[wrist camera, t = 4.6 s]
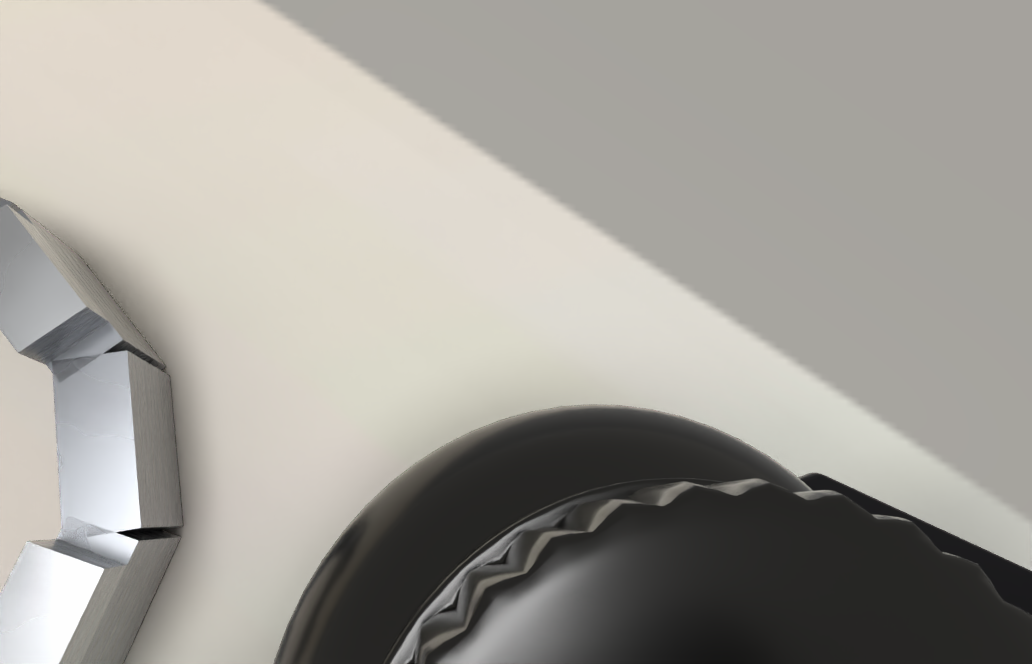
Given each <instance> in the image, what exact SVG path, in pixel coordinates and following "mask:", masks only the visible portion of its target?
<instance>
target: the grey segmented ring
mask: <svg viewBox="0 0 1032 664" xmlns="http://www.w3.org/2000/svg"><path fill="white" fill-rule="evenodd" d="M0 330H1V331H2V333H3V334H4V335H5V336H6V338H7V339H8V340H9V342H10V343H11V344H12V346H13V347H14V348H15V350H16V351H17V352H18V353H20V354H22V355H24V356H27V357H29V358H32V359H34V360H36V361H39V362H41V363H43V364H46V365H47V366H48V368H49V369H50V370H51V372H52V373H53V386H54V403H55V421H56V438H57V456H58V473H59V491H60V508H61V525H62V528H61V530H60V532H59V534H58V536H57V538H56V539H54V540H38V541H27V542H26V544H25V546H24V548H23V550H22V552H21V554H20V556H19V558H18V560H17V562H16V564H15V566H14V568H13V570H12V571H11V573H10V575H9V577H8V579H7V581H6V583H5V585H4V587H3V589H2V591H1V593H0V664H123V663H124V660H125V658H126V656H127V654H128V652H129V650H130V647H131V645H132V643H133V641H134V639H135V637H136V634H137V632H138V630H139V628H140V626H141V623H142V621H143V619H144V617H145V615H146V613H147V610H148V608H149V606H150V604H151V602H152V599H153V597H154V595H155V593H156V591H157V589H158V586H159V584H160V582H161V580H162V578H163V575H164V573H165V571H166V569H167V567H168V565H169V562H170V560H171V558H172V556H173V554H174V552H175V549H176V547H177V545H178V543H179V541H180V538H181V537H180V536H177V535H174V534H171V533H169V532H166V531H163V529H169V528H175V527H180V526H183V519H182V508H181V496H180V485H179V474H178V463H177V451H176V440H175V429H174V417H173V406H172V395H171V384H170V376H169V375H168V374H166V373H164V372H163V371H161V370H162V369H163V368H165V367H166V366H165V364H164V363H163V362H162V361H161V359H160V358H159V357H158V356H157V354H156V353H155V352H154V350H153V349H152V348H151V347H150V345H149V344H148V343H147V341H146V340H145V339H144V338H143V336H142V335H141V334H140V333H139V331H138V330H137V329H136V327H135V326H134V325H133V324H132V322H131V321H130V320H129V318H128V317H127V316H126V315H125V313H124V312H123V311H122V310H121V308H120V307H119V306H118V304H117V303H116V302H115V301H114V299H113V298H112V297H111V295H110V294H109V293H108V292H107V290H106V289H105V288H104V287H103V285H102V284H101V283H100V281H99V280H98V279H97V278H96V276H95V275H94V274H93V272H92V271H91V270H90V269H89V267H88V266H87V265H86V264H85V262H84V261H83V260H82V258H81V257H80V256H79V255H78V254H77V253H76V252H74V251H73V250H72V249H71V248H69V247H68V246H67V245H66V244H64V243H63V242H62V241H61V240H59V239H58V238H57V237H56V236H54V235H53V234H52V233H51V232H49V231H48V230H47V229H46V228H44V227H43V226H42V225H41V224H39V223H38V222H37V221H36V220H34V219H33V218H32V217H31V216H29V215H28V214H27V213H26V212H24V211H23V210H22V209H20V208H19V207H17V206H16V205H15V204H14V203H12V202H10V201H7V200H5V199H2V198H0Z"/></svg>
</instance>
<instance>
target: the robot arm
mask: <svg viewBox="0 0 1032 664" xmlns="http://www.w3.org/2000/svg"><path fill="white" fill-rule="evenodd" d="M798 478H799V479H800V480H802V481H803V482H804V483H805V484H806V485H807V486H809V487H810V488H811V489H812V490H813V491H818V490H831V491H835V492H838V493H840V494H843V495H844V496H846V497H847V498H849V499H851V500H852V501H854V502H855V503H857V504H859V505H860V506H861V507H863V508H864V509H865V510H866V511H868V512H869V513H870V514H872V515H885V516H893V517H900V518H904V519H907V520H909V521H912V522H913V523H914V524H916V525H917V526H918V527H919V528H920V529H921V530H922V531H923V532H924V533H925V534H926V535H927V536H928V537H929V538H930V540H931V541H932V542H933V544H934V545H935V546H936V547H937V548H938V549H939V550H940V551H941V552H944V553H949V554H952V555H956V556H959V557H961V558H964V559H966V560H969V561H972V562H974V563H977V564H978V565H979V566H980V567H981V568H982V570H983V571H984V572H985V574H986V575H987V576H988V577H989V579H990V580H991V581H992V583H993V585H994V587H995V589H996V591H997V592H998V593H999V595H1000V596H1001V597H1002V599H1003V600H1004V601H1006V602H1008V603H1010V604H1012V605H1014V606H1016V607H1019V608H1021V609H1022V610H1024V611H1026V612H1027V613H1029V614H1031V615H1032V571H1030V570H1028V569H1026V568H1024V567H1022V566H1019V565H1017V564H1015V563H1013V562H1011V561H1009V560H1006V559H1004V558H1002V557H1000V556H998V555H996V554H993V553H991V552H989V551H987V550H985V549H983V548H981V547H978V546H976V545H974V544H972V543H970V542H968V541H965V540H963V539H961V538H959V537H957V536H955V535H952V534H950V533H948V532H946V531H944V530H942V529H939V528H937V527H935V526H933V525H931V524H929V523H926V522H924V521H922V520H920V519H918V518H916V517H913V516H911V515H909V514H907V513H905V512H903V511H900V510H898V509H896V508H894V507H892V506H890V505H888V504H885V503H883V502H881V501H879V500H877V499H875V498H872V497H870V496H868V495H866V494H864V493H862V492H859V491H857V490H855V489H853V488H851V487H849V486H846V485H844V484H842V483H840V482H838V481H836V480H833V479H831V478H829V477H827V476H825V475H822V474H819V473H809V474H806V475H804V476H801V477H798Z"/></svg>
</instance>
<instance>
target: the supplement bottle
mask: <svg viewBox="0 0 1032 664" xmlns="http://www.w3.org/2000/svg"><path fill="white" fill-rule="evenodd" d="M274 664H1032V615H1031V614H1029V613H1027V612H1026V611H1024V610H1022V609H1021V608H1019V607H1016V606H1014V605H1012V604H1010V603H1008V602H1006V601H1004V600H1003V599H1002V597H1001V596H1000V595H999V593H998V592H997V591H996V589H995V587H994V585H993V583H992V581H991V580H990V579H989V577H988V576H987V575H986V574H985V572H984V571H983V570H982V568H981V567H980V566H979V565H978V564H977V563H974V562H972V561H969V560H966V559H964V558H961V557H959V556H956V555H952V554H949V553H944V552H941V551H940V550H939V549H938V548H937V547H936V546H935V545H934V544H933V542H932V541H931V540H930V538H929V537H928V536H927V535H926V534H925V533H924V532H923V531H922V530H921V529H920V528H919V527H918V526H917V525H916V524H914V523H913V522H912V521H909V520H907V519H904V518H900V517H893V516H885V515H872V514H870V513H869V512H868V511H866V510H865V509H864V508H863V507H861V506H860V505H859V504H857V503H855V502H854V501H852V500H851V499H849V498H847V497H846V496H844V495H843V494H840V493H838V492H835V491H831V490H818V491H813V490H812V489H811V488H810V487H809V486H807V485H806V484H805V483H804V482H803V481H802V480H800V479H799V478H798V477H797V476H796V475H794V474H793V473H792V472H791V471H789V470H788V469H786V468H785V467H784V466H782V465H781V464H779V463H778V462H776V461H775V460H774V459H772V458H771V457H769V456H768V455H766V454H765V453H763V452H761V451H759V450H758V449H756V448H754V447H752V446H751V445H749V444H747V443H745V442H743V441H742V440H740V439H738V438H736V437H733V436H731V435H729V434H727V433H724V432H722V431H720V430H718V429H716V428H713V427H711V426H708V425H705V424H702V423H699V422H696V421H693V420H690V419H687V418H684V417H681V416H678V415H673V414H669V413H665V412H660V411H656V410H652V409H645V408H637V407H629V406H622V405H577V406H563V407H556V408H550V409H544V410H538V411H532V412H528V413H525V414H521V415H517V416H514V417H510V418H506V419H503V420H500V421H497V422H495V423H492V424H489V425H487V426H484V427H482V428H479V429H476V430H474V431H471V432H469V433H467V434H465V435H463V436H462V437H460V438H458V439H456V440H454V441H452V442H450V443H448V444H446V445H444V446H442V447H440V448H439V449H437V450H436V451H434V452H432V453H431V454H429V455H428V456H426V457H425V458H423V459H421V460H420V461H418V462H417V463H415V464H414V465H413V466H411V467H410V468H409V469H407V470H406V471H405V472H404V473H402V474H401V475H400V476H398V477H397V478H396V479H394V480H393V481H392V482H391V483H389V484H388V485H387V486H386V487H385V488H384V489H383V490H382V491H381V492H380V493H379V494H378V495H377V496H376V497H375V498H373V499H372V500H371V501H370V502H369V503H368V504H367V505H366V506H365V507H364V508H363V510H362V511H361V512H360V513H359V514H358V515H357V516H356V517H355V519H354V520H353V521H352V522H351V523H350V524H349V525H348V527H347V528H346V529H345V530H344V531H343V532H342V534H341V535H340V537H339V538H338V539H337V541H336V542H335V543H334V545H333V546H332V548H331V549H330V550H329V552H328V553H327V554H326V556H325V557H324V559H323V560H322V562H321V563H320V565H319V567H318V568H317V570H316V572H315V573H314V575H313V577H312V578H311V580H310V582H309V583H308V585H307V587H306V588H305V590H304V592H303V594H302V596H301V598H300V600H299V602H298V604H297V606H296V608H295V611H294V613H293V615H292V617H291V619H290V621H289V623H288V625H287V628H286V631H285V633H284V636H283V639H282V641H281V644H280V647H279V649H278V652H277V655H276V658H275V660H274Z"/></svg>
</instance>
